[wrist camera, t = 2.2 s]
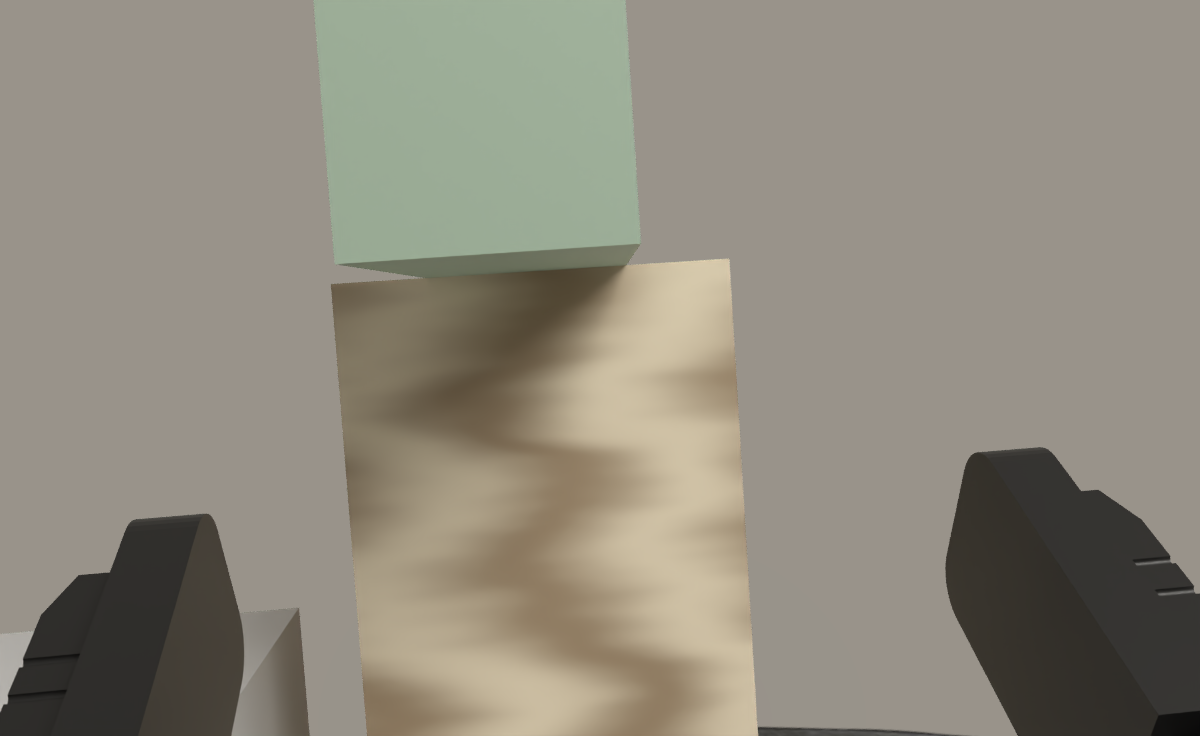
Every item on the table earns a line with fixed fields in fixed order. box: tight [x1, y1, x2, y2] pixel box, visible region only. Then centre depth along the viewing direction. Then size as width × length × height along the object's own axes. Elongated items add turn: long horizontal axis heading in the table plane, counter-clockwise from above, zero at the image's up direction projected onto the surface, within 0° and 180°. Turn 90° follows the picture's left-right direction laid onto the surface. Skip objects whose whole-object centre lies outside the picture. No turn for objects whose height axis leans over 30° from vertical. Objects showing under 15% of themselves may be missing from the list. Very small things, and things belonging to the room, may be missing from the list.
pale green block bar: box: [314, 0, 641, 278], centre depth 31 cm, size 26×5×5 cm, turn 0°
